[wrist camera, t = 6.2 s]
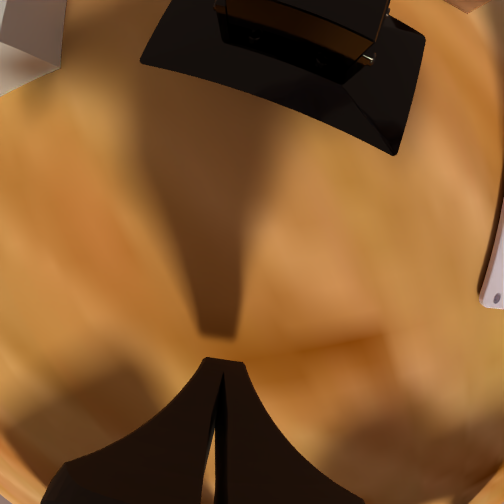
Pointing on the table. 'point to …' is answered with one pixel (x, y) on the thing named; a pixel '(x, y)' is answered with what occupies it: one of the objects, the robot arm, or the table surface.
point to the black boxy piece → (301, 58)
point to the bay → (467, 4)
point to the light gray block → (29, 40)
